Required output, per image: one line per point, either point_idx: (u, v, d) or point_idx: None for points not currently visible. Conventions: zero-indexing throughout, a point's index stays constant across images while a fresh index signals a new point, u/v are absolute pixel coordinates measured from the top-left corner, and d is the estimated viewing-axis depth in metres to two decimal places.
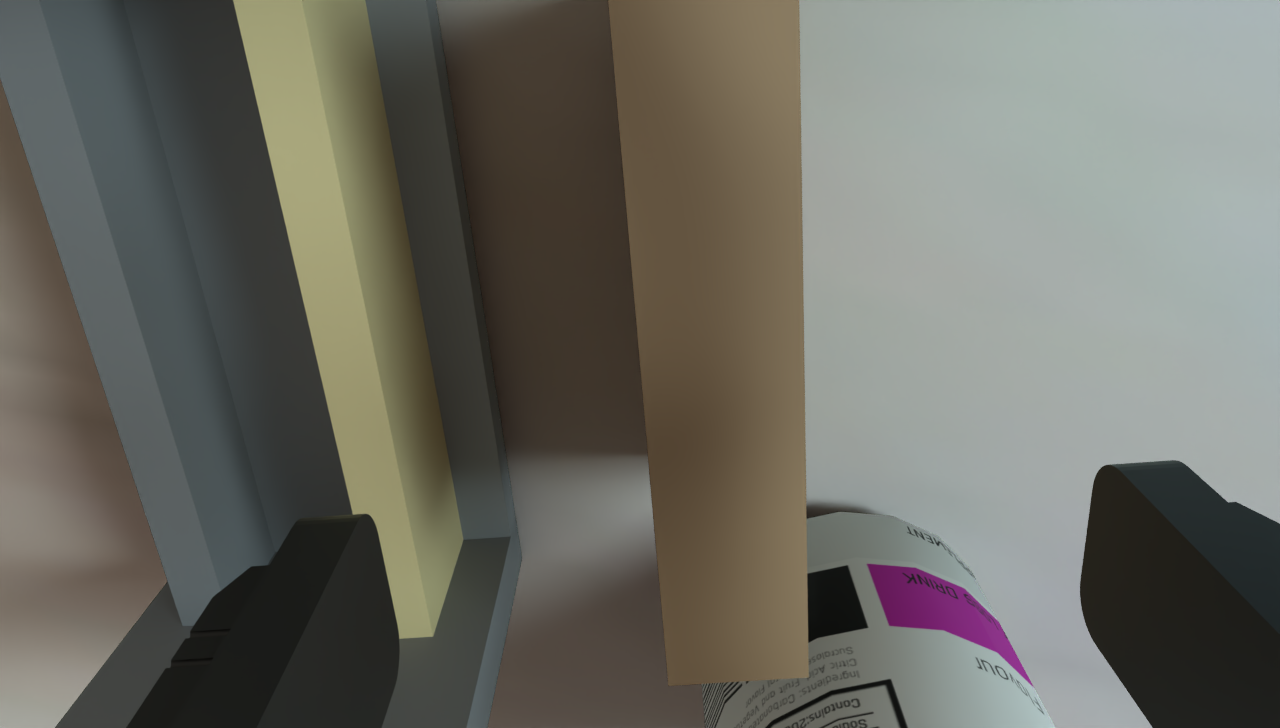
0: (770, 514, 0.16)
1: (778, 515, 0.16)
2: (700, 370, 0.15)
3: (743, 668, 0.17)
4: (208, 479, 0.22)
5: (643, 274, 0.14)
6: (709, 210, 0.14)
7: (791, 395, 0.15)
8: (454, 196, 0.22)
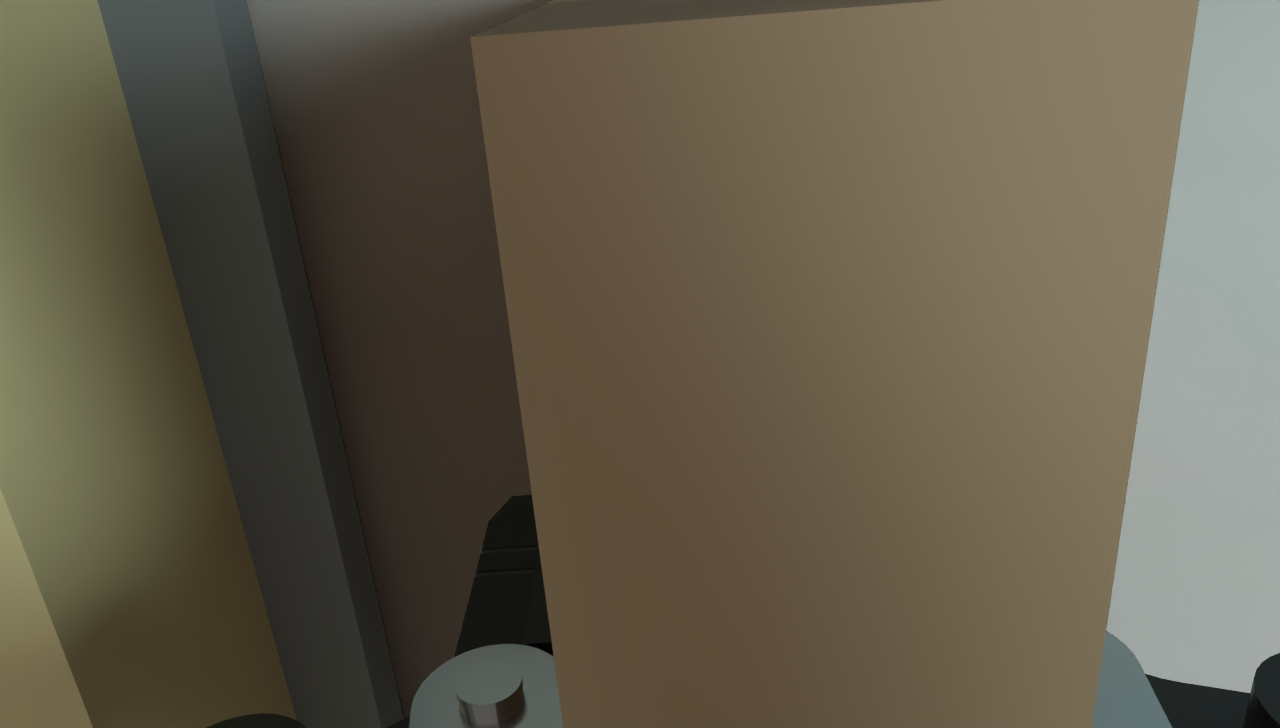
0: None
1: None
2: None
3: None
4: None
5: None
6: (813, 691, 0.05)
7: None
8: (291, 360, 0.12)
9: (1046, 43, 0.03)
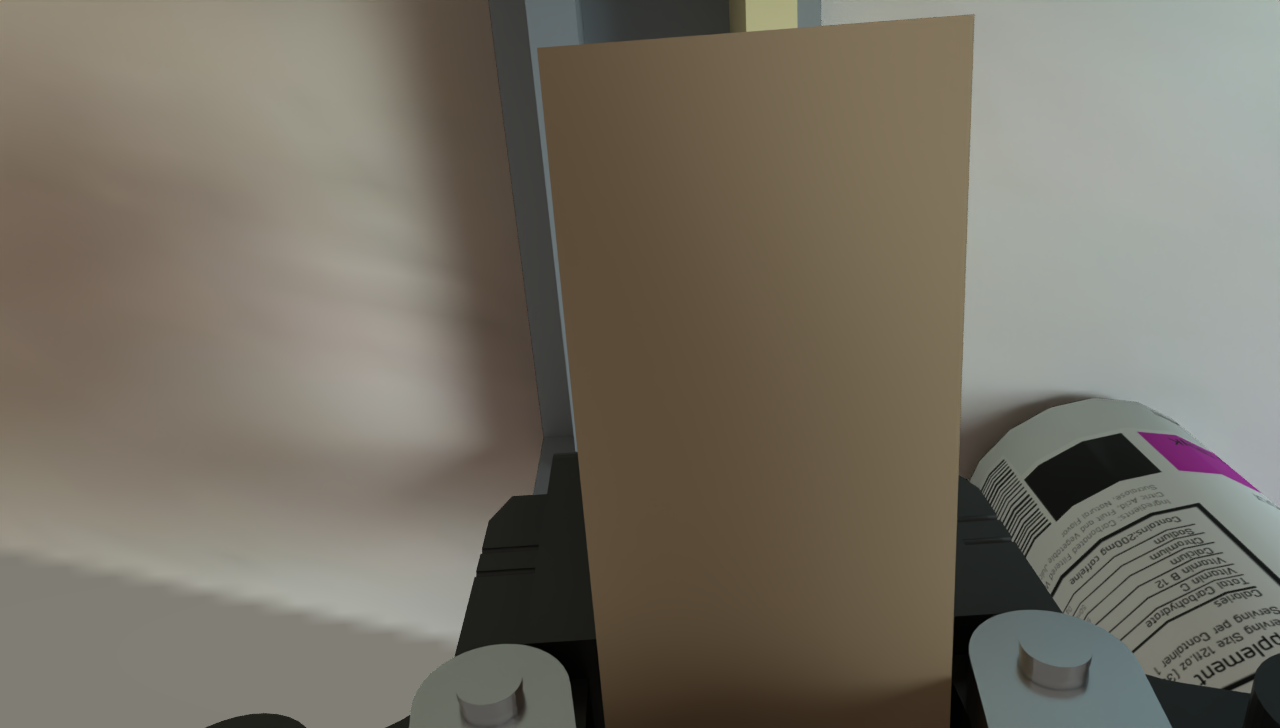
0: None
1: None
2: None
3: None
4: None
5: (618, 624, 0.07)
6: (760, 502, 0.07)
7: None
8: None
9: (884, 51, 0.06)
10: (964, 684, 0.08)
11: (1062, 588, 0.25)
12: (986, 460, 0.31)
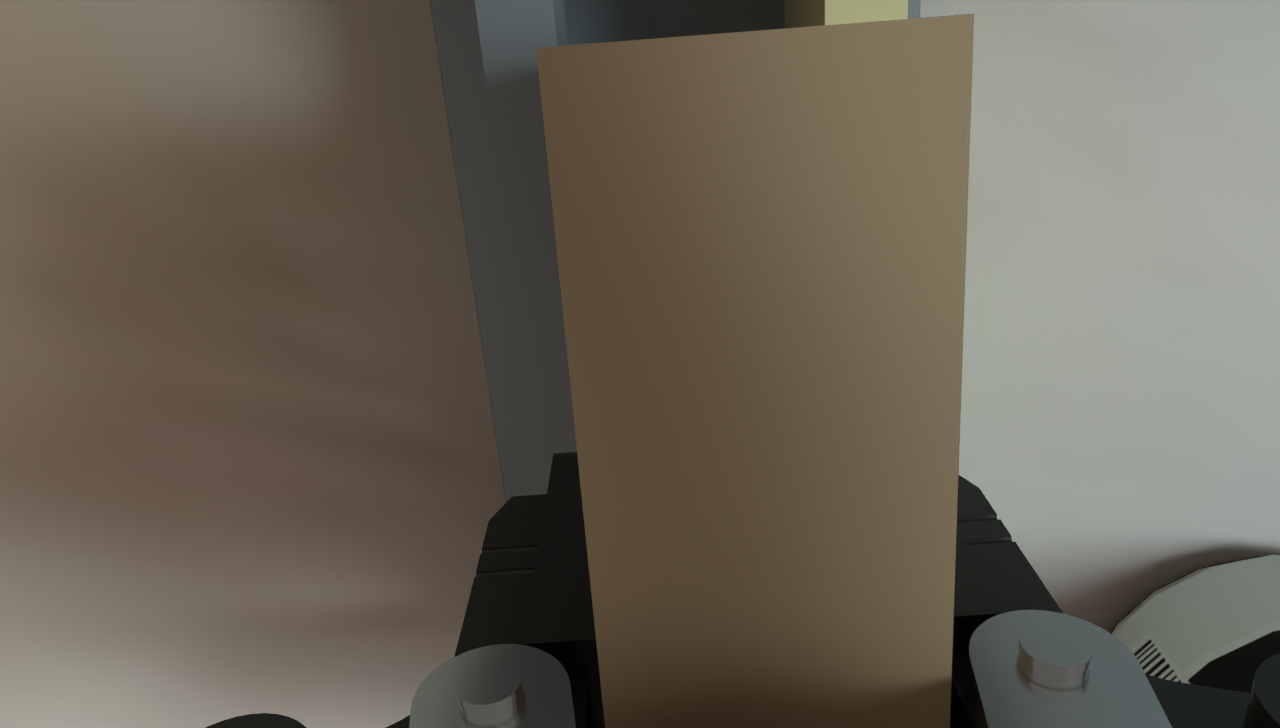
0: None
1: None
2: None
3: None
4: None
5: (618, 624, 0.07)
6: (759, 502, 0.07)
7: None
8: None
9: (882, 51, 0.06)
10: (964, 684, 0.08)
11: None
12: (1122, 635, 0.23)
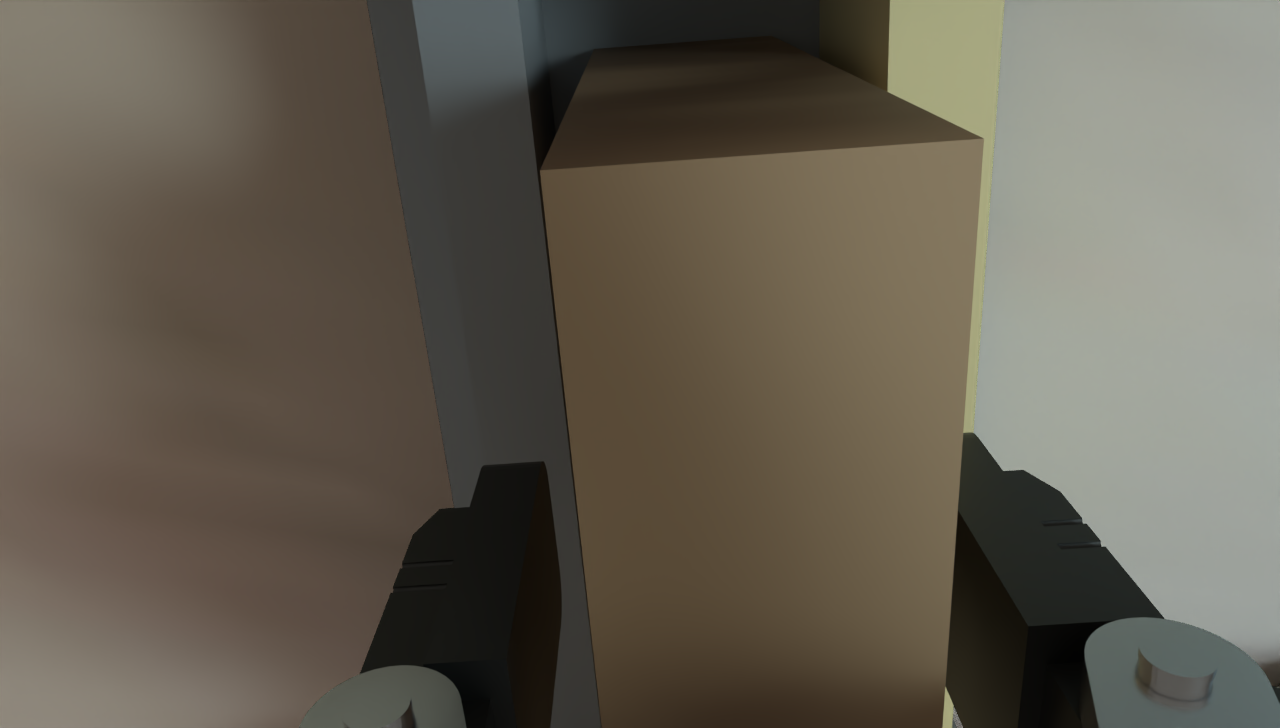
0: None
1: None
2: None
3: None
4: None
5: (621, 699, 0.07)
6: (759, 591, 0.07)
7: None
8: None
9: (892, 172, 0.06)
10: (1074, 693, 0.07)
11: None
12: None
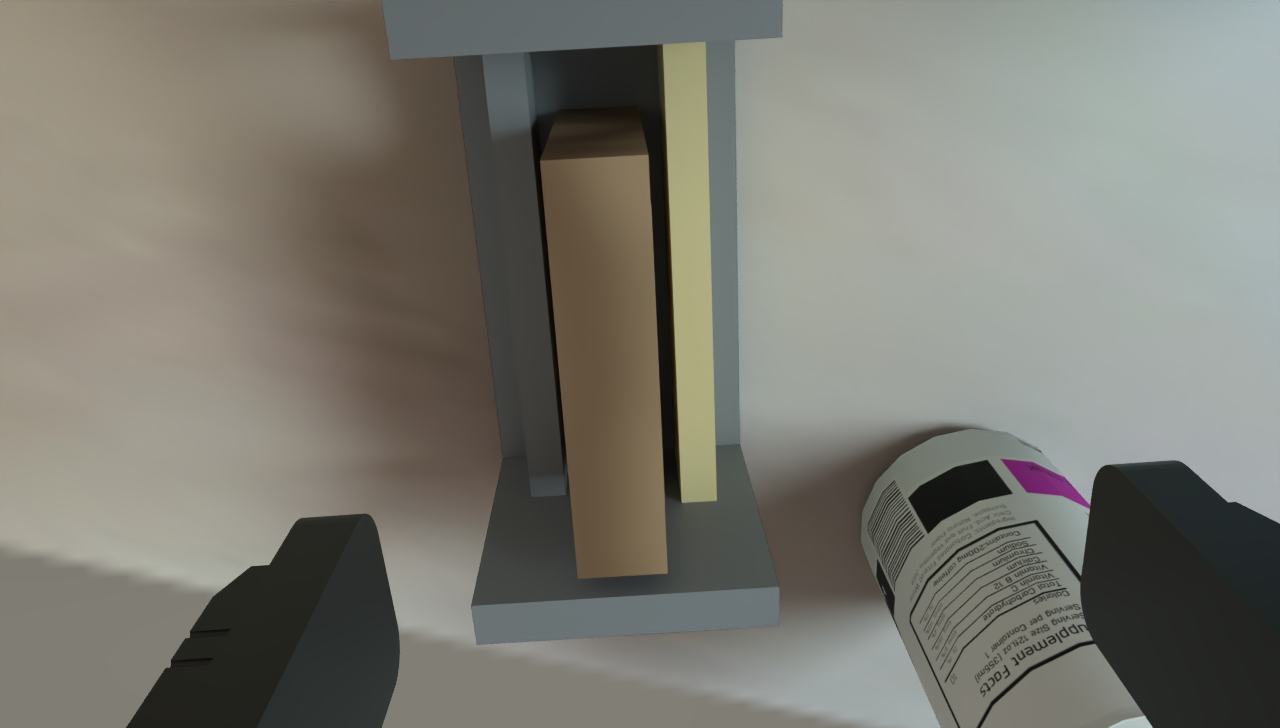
0: (640, 466, 0.26)
1: (645, 466, 0.26)
2: (595, 375, 0.25)
3: (625, 566, 0.27)
4: (558, 393, 0.32)
5: (561, 317, 0.24)
6: (599, 281, 0.24)
7: (651, 391, 0.25)
8: (735, 201, 0.32)
9: (626, 162, 0.23)
10: None
11: (928, 589, 0.31)
12: (881, 480, 0.37)
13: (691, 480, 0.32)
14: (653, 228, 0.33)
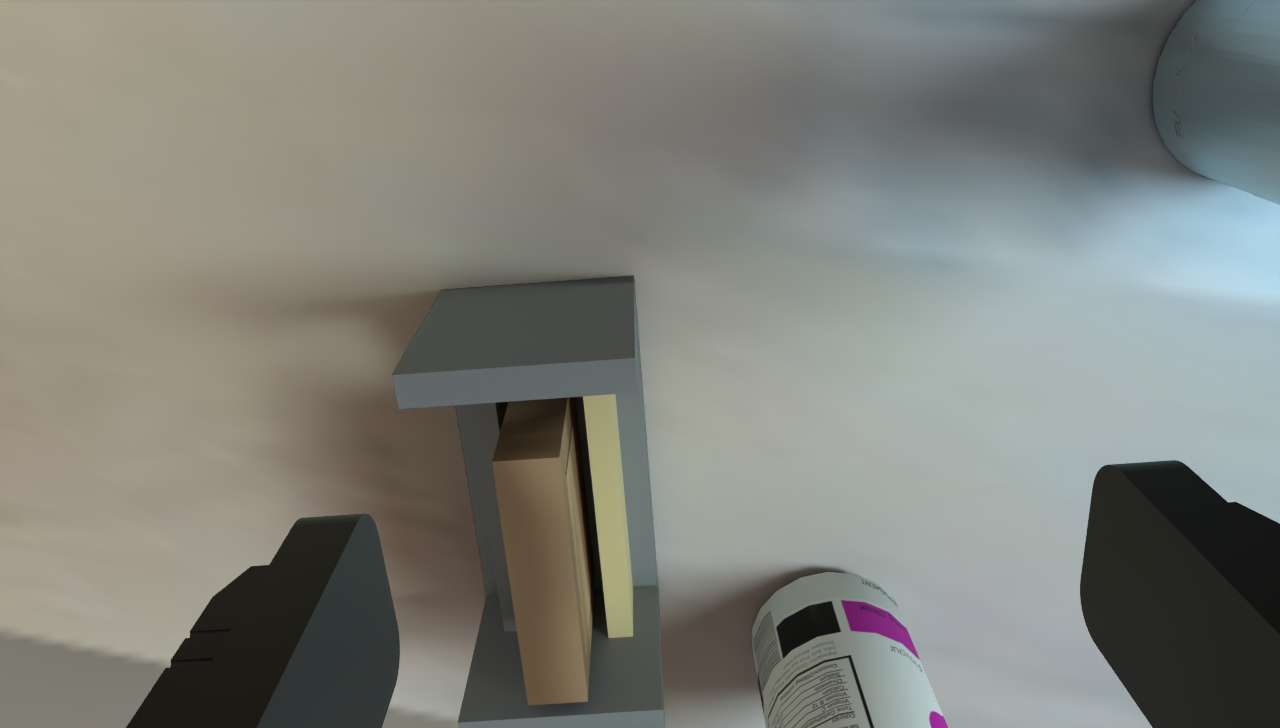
0: (565, 636, 0.39)
1: (568, 636, 0.39)
2: (533, 582, 0.38)
3: (559, 697, 0.41)
4: None
5: (509, 549, 0.38)
6: (532, 528, 0.37)
7: (569, 591, 0.39)
8: (644, 425, 0.46)
9: (546, 462, 0.36)
10: None
11: (777, 702, 0.44)
12: (763, 608, 0.50)
13: (614, 623, 0.45)
14: (587, 443, 0.46)
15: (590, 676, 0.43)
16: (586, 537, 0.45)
